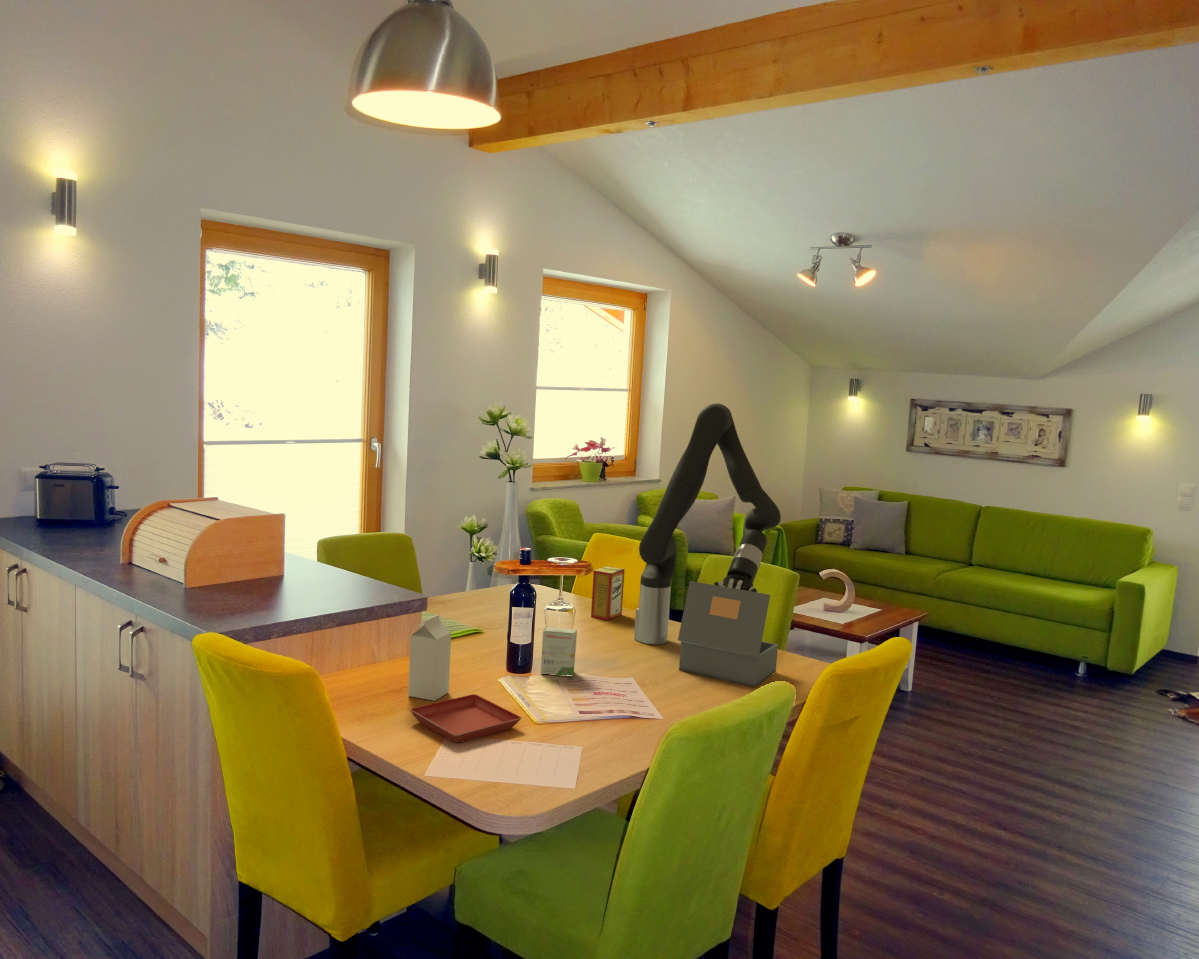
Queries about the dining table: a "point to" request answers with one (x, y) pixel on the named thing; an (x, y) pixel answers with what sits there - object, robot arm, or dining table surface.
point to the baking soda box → (607, 593)
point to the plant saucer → (465, 718)
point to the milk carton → (429, 660)
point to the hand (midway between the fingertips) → (725, 615)
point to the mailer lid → (724, 618)
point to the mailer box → (729, 663)
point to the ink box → (558, 651)
